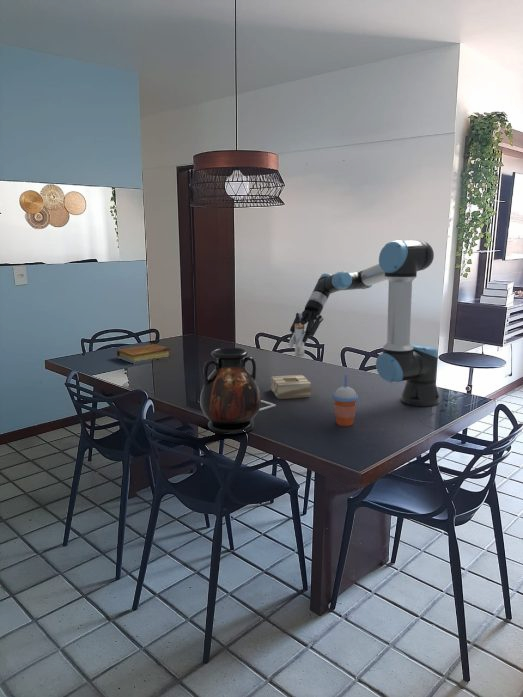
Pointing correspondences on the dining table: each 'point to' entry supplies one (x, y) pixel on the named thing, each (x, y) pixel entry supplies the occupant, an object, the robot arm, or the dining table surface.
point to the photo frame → (268, 406)
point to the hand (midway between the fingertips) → (294, 346)
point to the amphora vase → (230, 392)
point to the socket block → (290, 386)
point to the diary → (143, 352)
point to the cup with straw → (345, 405)
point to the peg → (298, 334)
